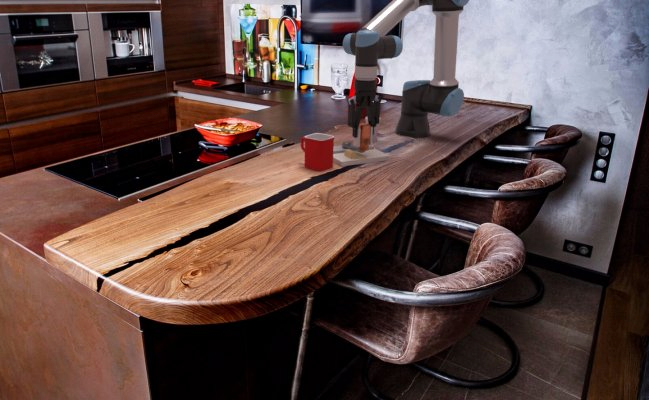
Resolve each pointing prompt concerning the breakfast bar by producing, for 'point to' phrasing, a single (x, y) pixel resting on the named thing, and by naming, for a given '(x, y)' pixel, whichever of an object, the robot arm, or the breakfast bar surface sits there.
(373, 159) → the door panel
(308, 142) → the mug
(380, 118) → the smoothie
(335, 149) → the jamb strip
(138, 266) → the breakfast bar surface
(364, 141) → the latch bar
